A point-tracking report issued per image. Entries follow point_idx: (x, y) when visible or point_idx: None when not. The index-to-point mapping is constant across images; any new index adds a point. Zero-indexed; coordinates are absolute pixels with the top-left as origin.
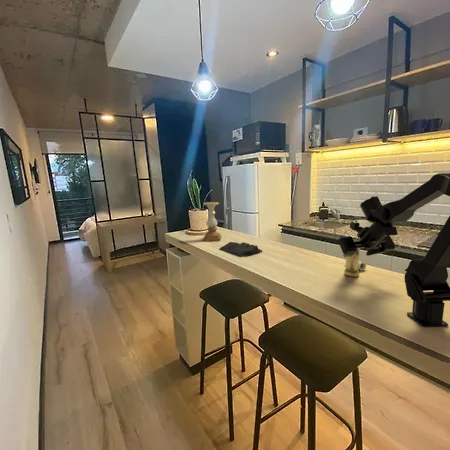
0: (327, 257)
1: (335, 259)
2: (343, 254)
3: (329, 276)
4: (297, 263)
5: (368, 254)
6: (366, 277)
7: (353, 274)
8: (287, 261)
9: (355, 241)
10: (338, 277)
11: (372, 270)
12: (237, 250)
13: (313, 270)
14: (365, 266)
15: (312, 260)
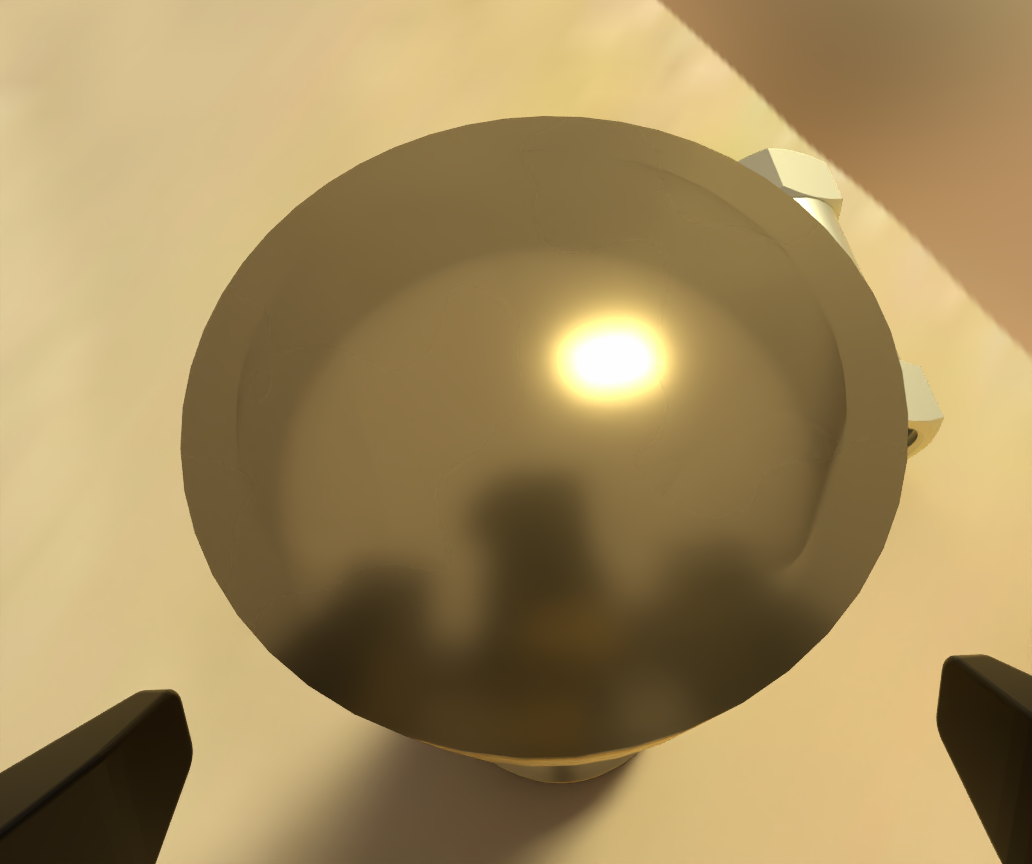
0: (584, 4)
1: (650, 67)
2: (111, 717)
3: (178, 667)
4: (100, 150)
5: (989, 799)
6: (753, 821)
7: (523, 774)
8: (34, 84)
9: (745, 194)
10: (285, 736)
11: (1002, 509)
12: None
13: (121, 397)
14: (914, 449)
15: (342, 77)
